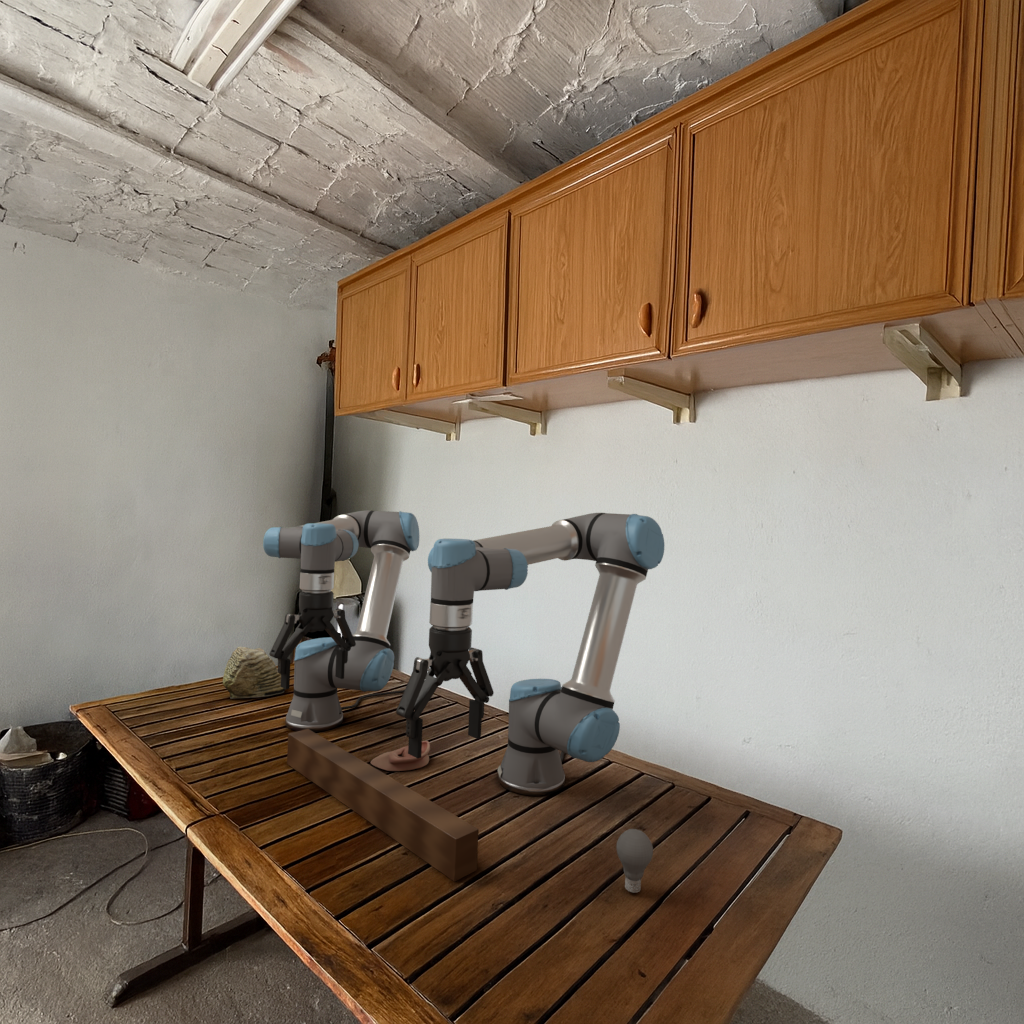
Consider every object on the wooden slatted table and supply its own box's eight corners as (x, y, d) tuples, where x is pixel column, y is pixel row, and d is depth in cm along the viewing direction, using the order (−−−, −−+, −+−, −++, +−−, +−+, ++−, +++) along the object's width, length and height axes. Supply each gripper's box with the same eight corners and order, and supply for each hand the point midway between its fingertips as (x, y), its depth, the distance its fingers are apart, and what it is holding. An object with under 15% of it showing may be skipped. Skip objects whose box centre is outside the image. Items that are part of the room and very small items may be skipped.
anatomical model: (365, 751, 148) (384, 733, 160) (364, 767, 148) (384, 749, 160) (419, 758, 146) (435, 740, 157) (418, 775, 146) (434, 756, 157)
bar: (286, 764, 149) (288, 733, 149) (307, 758, 153) (308, 728, 152) (454, 881, 106) (456, 839, 106) (476, 870, 110) (478, 829, 110)
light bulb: (610, 879, 108) (613, 822, 108) (644, 879, 109) (647, 822, 109) (619, 902, 102) (622, 840, 102) (655, 901, 103) (658, 840, 103)
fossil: (218, 695, 195) (220, 647, 195) (278, 685, 208) (279, 640, 207) (228, 703, 189) (230, 653, 188) (289, 692, 201) (290, 645, 201)
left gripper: (271, 597, 134) (267, 696, 134) (372, 589, 152) (368, 677, 152) (256, 592, 139) (252, 688, 140) (355, 585, 157) (352, 670, 157)
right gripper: (405, 639, 100) (399, 772, 101) (515, 622, 118) (510, 735, 118) (378, 630, 106) (373, 757, 106) (487, 616, 123) (483, 724, 124)
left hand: (313, 682), depth 146 cm, fingers open, 13 cm apart
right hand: (445, 745), depth 112 cm, fingers open, 13 cm apart
